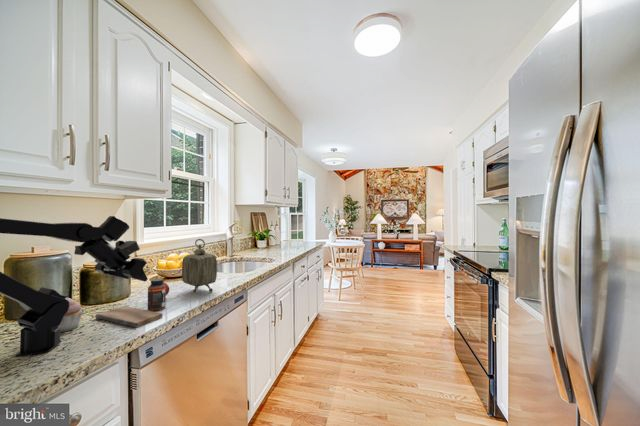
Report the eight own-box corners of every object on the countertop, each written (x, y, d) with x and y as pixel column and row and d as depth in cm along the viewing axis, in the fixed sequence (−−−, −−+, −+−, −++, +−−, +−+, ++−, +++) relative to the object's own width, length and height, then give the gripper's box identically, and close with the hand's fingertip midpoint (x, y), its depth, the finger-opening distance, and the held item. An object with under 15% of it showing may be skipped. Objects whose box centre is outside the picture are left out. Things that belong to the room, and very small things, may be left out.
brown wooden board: (134, 328, 84) (134, 323, 84) (95, 318, 91) (95, 314, 91) (162, 317, 93) (162, 313, 93) (124, 309, 100) (124, 305, 100)
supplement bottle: (168, 308, 102) (169, 279, 103) (152, 312, 97) (152, 282, 97) (160, 305, 106) (161, 277, 106) (144, 309, 101) (144, 280, 101)
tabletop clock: (216, 291, 125) (217, 239, 125) (199, 296, 117) (200, 240, 117) (197, 287, 132) (198, 237, 133) (180, 291, 124) (181, 238, 125)
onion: (161, 301, 110) (162, 282, 110) (150, 300, 111) (150, 281, 111) (172, 297, 116) (172, 279, 116) (160, 296, 117) (161, 278, 117)
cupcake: (54, 324, 86) (54, 294, 86) (89, 321, 89) (90, 291, 89) (35, 337, 77) (36, 303, 77) (75, 332, 81) (76, 299, 81)
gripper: (141, 234, 87) (170, 262, 97) (105, 232, 93) (136, 259, 104) (115, 262, 79) (149, 289, 89) (78, 258, 86) (114, 283, 96)
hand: (137, 279), depth 95 cm, fingers open, 9 cm apart
